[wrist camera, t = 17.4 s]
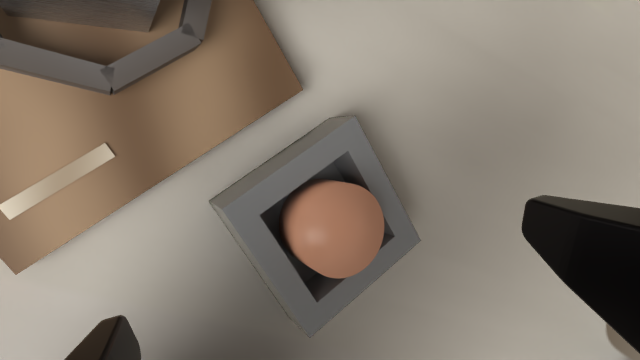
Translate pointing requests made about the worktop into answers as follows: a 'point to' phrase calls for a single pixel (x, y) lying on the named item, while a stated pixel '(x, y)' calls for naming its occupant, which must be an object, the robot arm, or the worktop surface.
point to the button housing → (266, 203)
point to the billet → (87, 12)
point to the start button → (332, 227)
